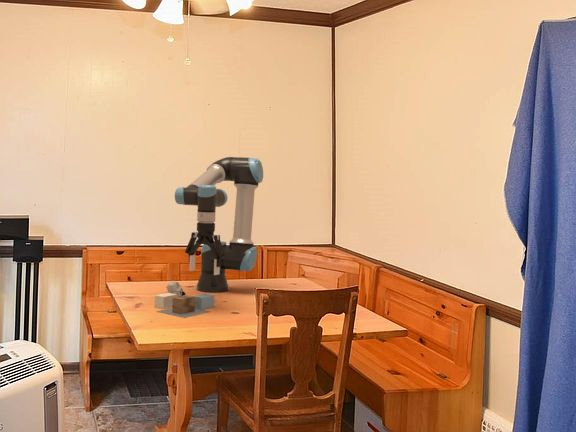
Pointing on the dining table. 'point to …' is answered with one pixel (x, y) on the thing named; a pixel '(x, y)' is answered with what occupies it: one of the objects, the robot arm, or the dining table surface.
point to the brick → (164, 300)
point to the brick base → (183, 304)
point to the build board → (185, 315)
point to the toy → (175, 288)
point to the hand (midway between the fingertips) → (204, 272)
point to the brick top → (204, 301)
